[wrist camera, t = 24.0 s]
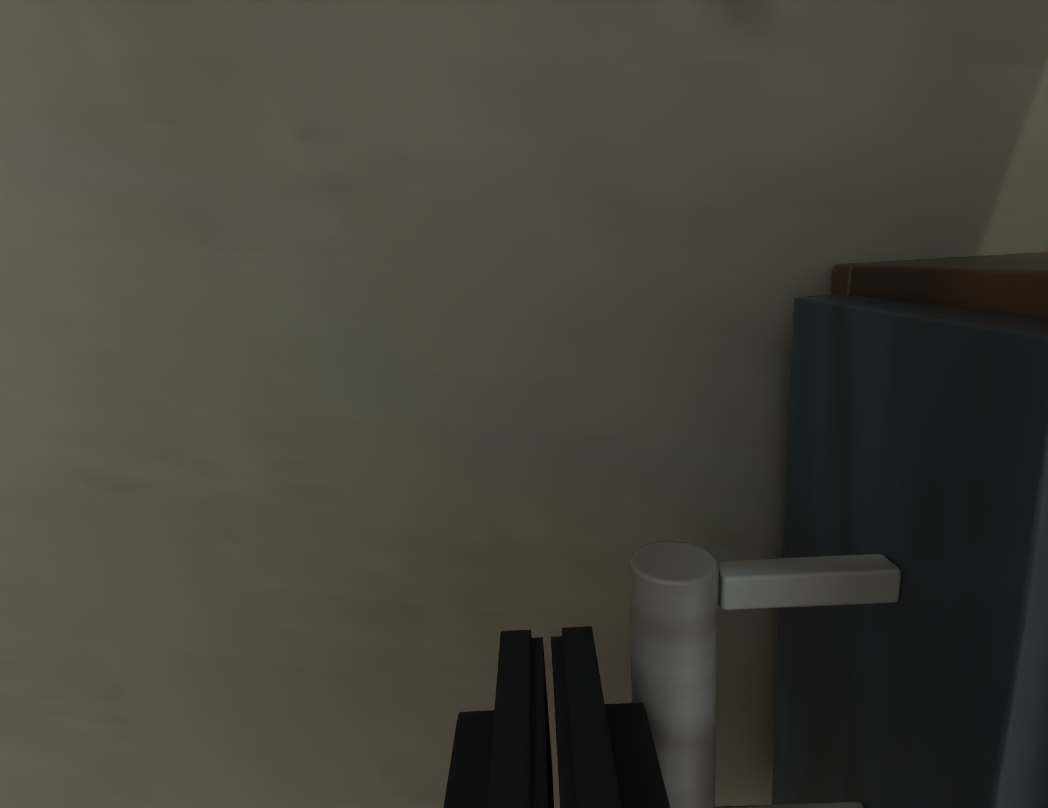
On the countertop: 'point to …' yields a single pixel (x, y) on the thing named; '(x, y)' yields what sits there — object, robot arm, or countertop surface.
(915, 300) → the cabinet
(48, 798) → the countertop surface
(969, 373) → the drawer
